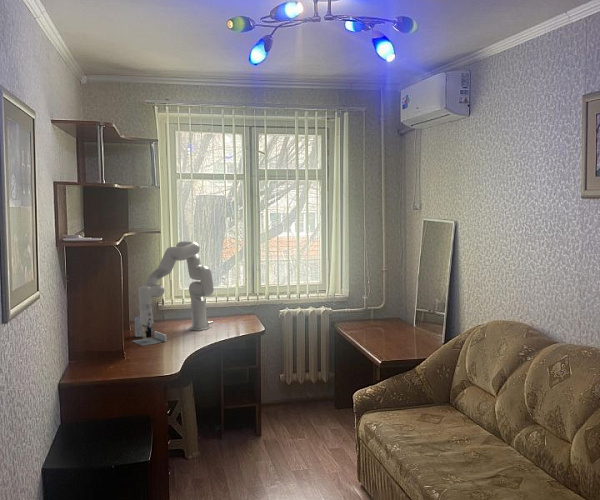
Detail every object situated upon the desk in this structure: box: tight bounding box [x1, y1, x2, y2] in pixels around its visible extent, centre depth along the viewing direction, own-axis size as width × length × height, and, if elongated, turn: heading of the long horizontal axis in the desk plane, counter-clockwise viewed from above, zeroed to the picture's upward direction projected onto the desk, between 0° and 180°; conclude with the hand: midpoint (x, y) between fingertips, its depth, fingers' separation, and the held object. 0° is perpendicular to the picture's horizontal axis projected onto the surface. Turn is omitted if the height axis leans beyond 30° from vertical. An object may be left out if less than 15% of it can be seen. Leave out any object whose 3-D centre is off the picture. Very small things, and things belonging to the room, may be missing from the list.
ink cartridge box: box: [134, 316, 154, 338], centre depth 374 cm, size 10×6×14 cm, turn 78°
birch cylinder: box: [142, 325, 151, 339], centre depth 358 cm, size 5×5×7 cm
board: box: [131, 336, 163, 347], centre depth 359 cm, size 13×16×1 cm
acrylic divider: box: [153, 330, 168, 343], centre depth 363 cm, size 1×16×4 cm, turn 37°
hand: (147, 336), depth 358 cm, fingers closed on birch cylinder, 5 cm apart
